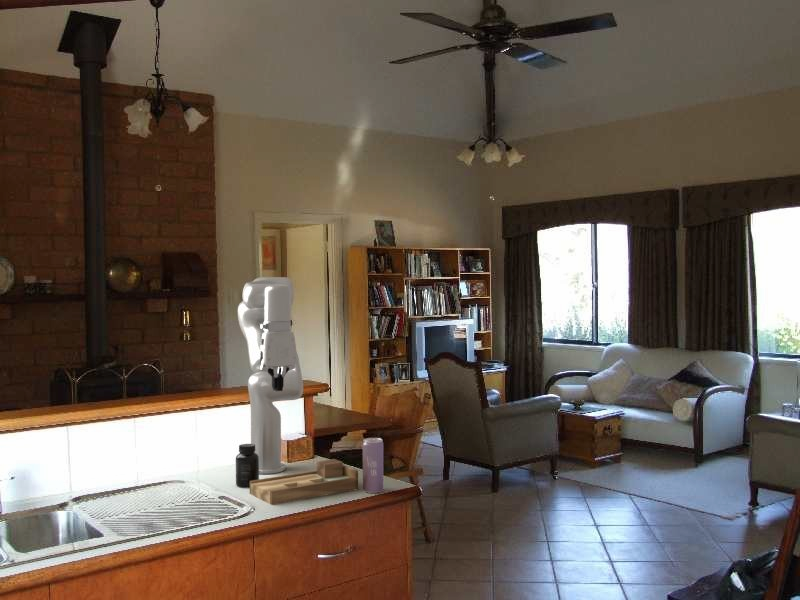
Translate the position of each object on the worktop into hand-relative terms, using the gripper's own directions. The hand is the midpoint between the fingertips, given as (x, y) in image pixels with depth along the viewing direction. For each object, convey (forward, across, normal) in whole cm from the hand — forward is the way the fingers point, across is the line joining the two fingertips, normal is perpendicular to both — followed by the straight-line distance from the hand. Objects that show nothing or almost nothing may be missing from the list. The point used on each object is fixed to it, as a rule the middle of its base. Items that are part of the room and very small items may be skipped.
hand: (277, 390), depth 237 cm
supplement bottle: (+29, -5, +10) cm, 31 cm away
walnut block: (+26, +15, -4) cm, 30 cm away
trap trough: (+29, +5, -6) cm, 30 cm away
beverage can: (+29, +22, -17) cm, 40 cm away
